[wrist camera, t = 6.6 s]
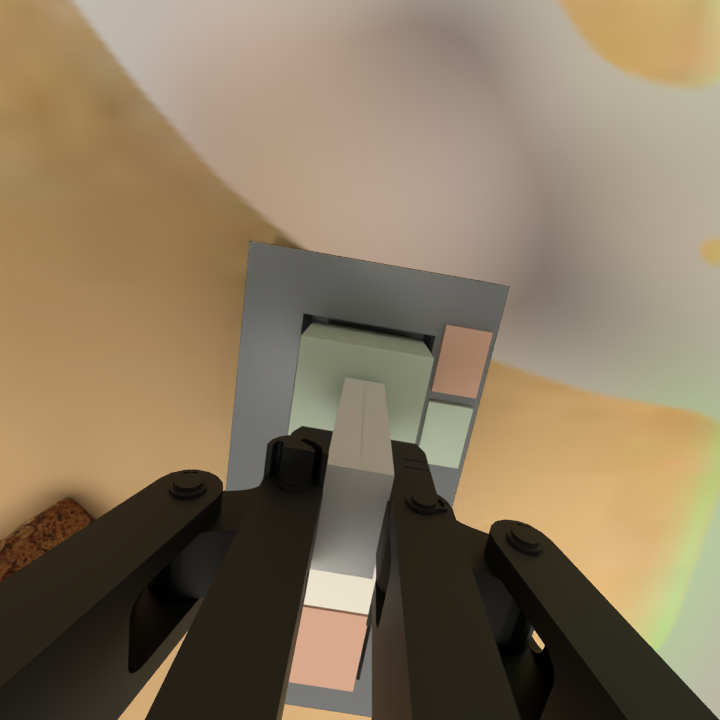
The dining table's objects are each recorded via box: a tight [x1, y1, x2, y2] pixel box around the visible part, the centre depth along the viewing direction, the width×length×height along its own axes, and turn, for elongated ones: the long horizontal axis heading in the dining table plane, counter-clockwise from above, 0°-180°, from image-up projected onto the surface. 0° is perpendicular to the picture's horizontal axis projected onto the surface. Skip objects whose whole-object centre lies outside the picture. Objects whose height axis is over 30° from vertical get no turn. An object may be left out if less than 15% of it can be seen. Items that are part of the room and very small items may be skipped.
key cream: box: [304, 565, 376, 614], centre depth 19 cm, size 5×5×4 cm
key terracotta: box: [289, 604, 368, 692], centre depth 22 cm, size 5×5×4 cm
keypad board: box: [226, 241, 509, 717], centre depth 21 cm, size 25×11×4 cm, turn 170°
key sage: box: [288, 321, 434, 444], centre depth 17 cm, size 5×5×4 cm
